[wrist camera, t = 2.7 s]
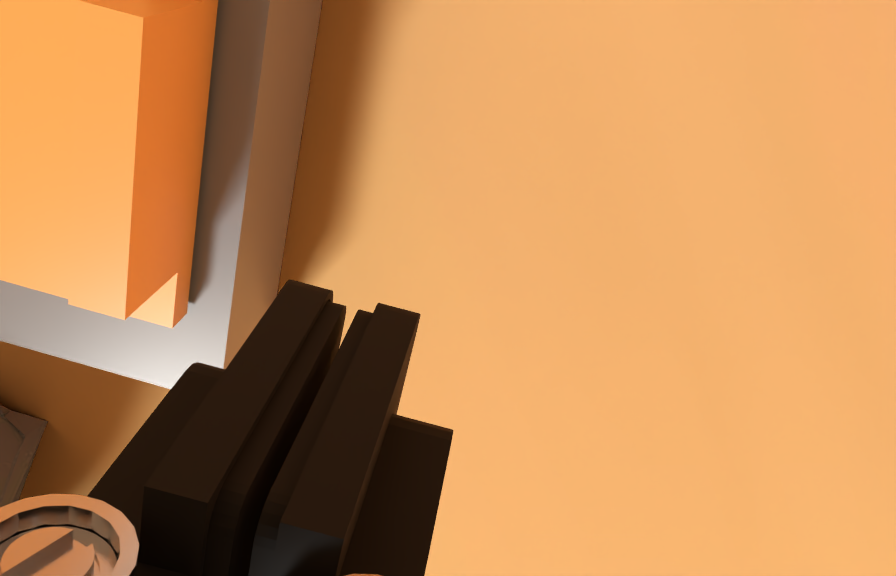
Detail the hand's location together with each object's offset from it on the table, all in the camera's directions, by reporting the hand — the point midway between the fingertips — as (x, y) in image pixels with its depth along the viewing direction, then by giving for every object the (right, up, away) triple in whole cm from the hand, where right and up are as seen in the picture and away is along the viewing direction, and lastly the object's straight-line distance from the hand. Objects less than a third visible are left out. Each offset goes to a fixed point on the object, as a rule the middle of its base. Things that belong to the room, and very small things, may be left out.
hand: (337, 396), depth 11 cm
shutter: (-8, +6, +8) cm, 12 cm away
